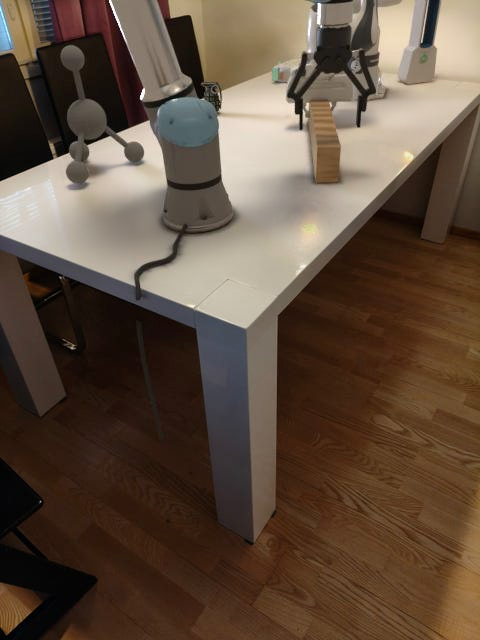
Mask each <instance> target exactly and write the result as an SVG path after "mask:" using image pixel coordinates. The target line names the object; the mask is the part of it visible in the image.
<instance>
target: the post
mask: <svg viewBox="0 0 480 640" xmlns="http://www.w3.org/2000/svg"><path fill="white" fill-rule="evenodd" d="M331 107H332V106H331V104H330V102H329V100H317V101H310V103H308V111H310V117H309V118H307V124H308V132H309V140H310V141H309V142H310V149H311V156H312V166H313V175H314V181H315V183H317V184H318V183H320V184H321V183H339V179H340V178H339V176H340V164H341V150H342V146H341V141H340V139H339V134H338V131H337V127H336V122H335V119H334V116H333V111H331Z"/></svg>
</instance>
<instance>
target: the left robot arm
mask: <svg viewBox="0 0 480 640" xmlns="http://www.w3.org/2000/svg"><path fill="white" fill-rule="evenodd" d="M108 1H109V3H110V6H111V9H112V11H113V14H114V16H115V19H116V21H117V23H118V26H119V28H120V31H121V33H122V36H123V39H124V42H125V44H126V46H127V49H128V51H129V54H130V56H131V59H132V61H133V64H134V67H135V68H136V71H137V75H138V77H139V80H140V82H141V84H142V87H143V89H142V92H141V95H140V97H139V99H140V102H141V103H142V106H143V108H144V111H145V113H146V115H147V118H148V121H149V126H150V128H151V131H152V133H153V135H154V136H155V138H156V140H157V143H158V145H159V146H160V149H161V153H162V159H163V168H164V174H165V180H166V190H165V191H166V192H165V196H164V203H163V207H162V218H163V222H164V224H165V226H167V227H168V228H169V229H171V230H173V231H177V232H179V233H178V235H177V236H176V238H175V240H174V241H173V245H172V253H171V254H170V255H168V256H167V257H164V258H161V259H156V260H152V261H149V262H146V263H144V264H142V265H141V266H140V267H138V268H137V269H136V270H135V272H134V274H133V278H134V285H135V301H137V302H138V301H140V300H141V296H142V295H141V294H142V293H141V292H142V291H141V288H142V287H141V281H140V274H141V273H142V272H143V271H144V270H146V269H148V268H150V267H153V266H158V265H162V264H166V263H168V262H170V261H171V260H173V259H174V258H175V257H176V256H177V252H178V245H179V243H180V241H181V240H182V238H183V235H184V234H185V233H190V234H191V233H192V234H193V233H194V234H195V233H196V234H197V233H205V232H206V233H207V232H210V231H215V230H216V229H220V228H222V227H224V226H226V225H227V224H228V223H230V221H231V220H232V218H233V216H234V212H233V211H234V210H233V205H232V201H231V200H230V197H229V194H228V192H227V190H226V187H225V184H224V182H223V175H222V174H223V173H222V161H221V159H222V158H221V147H220V146H221V145H220V133H219V131H220V130H219V129H220V122H219V118H218V112H216V109H215V107H214V106H213V105H212V104H211V103H210V102H208V101H206V100H204V99H201V98H199V97H198V95H197V92H196V88H195V86H194V82H193V80H192V78H191V77H190V76H187V75H185V74H184V73H183V72H182V70H181V67H180V64H179V61H178V57H177V55H176V52H175V49H174V45H173V43H172V41H171V40H172V39H171V37H170V34H169V31H168V27H167V26H166V23H165V19H164V17H163V13H162V11H161V8H160V5H159V2H158V0H108ZM305 1H307V2H310V3H312V4H313V5H314V4H317V24H318V25H319V27H318V28H317V29H316V50H315V52H314V53H307V50H306V51H305V50H304V51H302V52H301V57H300V58H301V63H300V65H299V67H298V69H297V72H296V74H295V76H294V78H293V80H292V83H291V85H290V87H289V89H288V91H287V97H288V98H291V99H293V100H294V101H295V103H294V115H297V116H298V117H299V118H298V119H299V121H298V130H299V131H304V130H303V129H304V128H303V127H304V125H303V124H304V119H303V118H304V110H303V98H301V97H302V96H303V95H304V93H305V92H306V91H307V90H308V88H309V87H310V86H311V84H312V83H313V82H314V81H315V79H316V78H317V77H318V76H319V75H320V74H321V72H323V73H325V74H330V73H340V72H341V71H344V72H345V74H346V75H347V76H348V77H349V79H350V80H351V81H352V83H353V84H354V85H355V87H356V88H357V89H358V91H359V92H360V93H361V95H358V100H357V102H356V114H355V115H356V116H355V126H356V128H357V129H358V128H361V124H362V123H361V122H362V113H365V112H366V111H367V106H368V100H367V98H368V96H369V95H372V94H375V93H376V88H375V86H374V83H373V80H372V78H371V75H370V73H369V70H368V67H367V65H366V62H365V51H364V50H363V48H359V50H354V51H351V32H352V27H351V26H350V23H351V22H352V18H353V2H354V0H305ZM352 57H355V60H356V61H359V64H360V67H361V69H362V72H363V74H364V77H365V79H366V82H367V85H368V87H369V88H368V89H365V88H364V87H363V85H362V84H361V83H360V81H359V80H358V79H357V77H356V76H355V75H354V73H353V72H352V71H351V69H350V68H349V66H348V65H347V64H348V62H349V61H350V59H351V58H352ZM311 59H314V61H315V62H316V64H317V66H316V67H315V68H314V70H313V72H312V73H311V74H310V75H309V77H308V78H307V79H306V81H305V82H304V83H303V85H302V86H301V87H300V88H299V90H298V91H297V92H296V93H295V92H294V91H295V89H296V87H297V85H298V83H299V80H300V78H301V76H302V74H303V72H304V70H305V67H306V64H309V63H310V61H311ZM135 325H136V333H137V341H138V347H139V353H140V354H139V355H140V361H141V365H142V370H143V375H144V379H145V384H146V388H147V392H148V396H149V400H150V403H151V407H152V411H153V414H154V419H155V423H156V428H157V433H158V437H159V440H160V441H164V440H165V439H164V433H163V428H162V423H161V420H160V415H159V411H158V407H157V404H156V399H155V396H154V391H153V387H152V383H151V378H150V374H149V369H148V364H147V359H146V351H145V345H144V338H143V330H142V322H141V321H139V320H135Z"/></svg>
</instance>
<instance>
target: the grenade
mask: <svg viewBox="0 0 480 640" xmlns="http://www.w3.org/2000/svg"><path fill="white" fill-rule="evenodd" d="M200 85H201V86H202V87H205V88H206V91H205V92H204V96H203V100H206V101H208V102H210V103H211V104H212V105H213V106H214V107H215V109H216V112H217V113H218V112H220V110H221V109H222V101H223V93H222V88H221V85H220V83H219V82H218V81H202V82H201V83H200Z"/></svg>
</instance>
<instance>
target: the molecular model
mask: <svg viewBox="0 0 480 640" xmlns="http://www.w3.org/2000/svg"><path fill="white" fill-rule="evenodd" d="M60 61H61V64H62V65H63V67H65V69H67V70H68V71H71V72H72V74H73V79H74V84H75V87H76V91H77V95H78V99H77V100H75V101H74V102H72V104H71V105H70V106H69V108H68V109H67V114H66V116H67V117H66V119H67V124H68V127H69V129H70V130H71V131H72V133H73V134H74V135H75V136H77V140H76V141H73V142H72V143H71V144H70V146H69V148H68V153H69V155H70V157H71V158H72V159H73V160H74V161H72V162H70V163H68V164H67V166H66V168H65V175H66V177H67V179H68V180H69V181H70V182H71V183H73V184H75V185H76V184H77V185H80V184H81V185H82V184H83V183H85V182H87V180H88V179H89V177H90V176H89V175H90V173H89V169H88V167H87V165H86V164H84V163H83V162H85V161H86V160H88V158H89V157H90V148H89V147H88V145H87V144H86V143H85V140H87V141H88V140H89V141H90V140H95V139H98V138H99V137H101V136H102V134H104V132H105V133H106V134H107V135H108V136H110V137H111V138H112V139H113V140H114V141H116V142H117V143H118V144H119V145H120V146H122V147H123V154H124V157H125V159H126V160H128V161H129V162H130V163H139V162H141V161H142V160H143V158H144V157H145V149H144V146H143V145H142V144H141V143H140V142H138V141H129V142H127V141H126V140H125V139H123V138H122V137H121V136H120V135H118V133H116V132H115V131H114V130H113V129H111V128H110V127H109V126H108V125H107V123H108V121H107V120H108V119H107V114H106V112H105V110H104V108H103V107H102V106H101V105H100V104H99V102H96V101H95V100H92V99H90V98H86V96H85V91H84V87H83V81H82V78H81V73H80V70H82V68H83V67H84V65H85V61H86V59H85V55H84V53H83V51H82V50H81V49H80V48H79V47H78V46H76V45H73V44H70V45H66V46H65V47H63V48H62V50H61V52H60Z"/></svg>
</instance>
